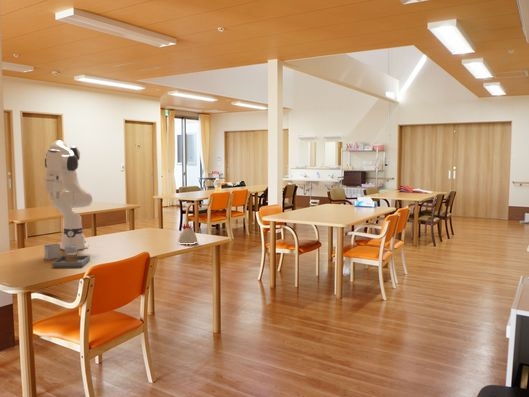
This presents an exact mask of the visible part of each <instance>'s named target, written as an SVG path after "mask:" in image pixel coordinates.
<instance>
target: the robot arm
mask: <svg viewBox="0 0 529 397" xmlns="http://www.w3.org/2000/svg"><path fill="white" fill-rule="evenodd" d="M80 159H81V152H80V150H79V149H78V147H76V146H69V147H68V146H67V144H66V142H64V141H63V140H61V139H58V140H55V141H53V142H52V143H51V144H50V146H49V149H48V150H46V153H45V158H44V167H45V168H46V174H45V176H44V181H45V191H46V193H47V194H49V196H50V201H51V204H52V206H53V207H54V208H56V209H57V210H58V211H59V212H60V213H61V215H62V217H63V235H61V243H60V250H64V251H65V246H72V245H74V246H77V251H79V250H82V249H83V250H84V249H89V244H90V243H89V242H87V241H86V237H85V235H84V233H83V231H84V230H83V229H84V227H83V224H82V223H83V222H82V220H83V219H82V216H81V215H80V214H79V213H76V211H73V209H77V208H79V209H81V208H87V207H90V206H91V205H92V203H93V196H92V194H91V193H90V192H88V191H86V190H85V189H83V187H81V185H80V184H79V179H78V175H77V171H76V170H77V169H78V168H79V160H80ZM63 190H64V191H63Z"/></svg>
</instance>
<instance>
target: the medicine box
mask: <svg viewBox="0 0 529 397" xmlns="http://www.w3.org/2000/svg"><path fill="white" fill-rule="evenodd" d="M43 247H44V259H45V260H47V259H48V260H53V259H55V260H56V259H58V258H60V257H61V249H60V247H61V243H58V242H57V243H49V244H44V246H43Z"/></svg>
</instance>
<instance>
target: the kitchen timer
mask: <svg viewBox="0 0 529 397" xmlns="http://www.w3.org/2000/svg"><path fill="white" fill-rule="evenodd" d="M181 226H182V229H183V230H182V231H181V232H180V233H179V236H178V239H177V243H178V242H180V243H194V242H197V243H198V237H197V235H196V232H195V231H194V230H193V228H194V226H192V224H189V223H183V225H181Z"/></svg>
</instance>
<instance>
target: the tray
mask: <svg viewBox="0 0 529 397" xmlns="http://www.w3.org/2000/svg"><path fill="white" fill-rule="evenodd" d="M90 261H91V257H90V255H77V262H66V256H65V255H60V258H56V259H55V260H54V261H52V265H51V266H52V268H53V269H59V268H60V267H62V269H64V267H65V268H66V267H68V268H71V267H72V268H83V267H84V266H86V264H88V262H90ZM72 268H71V269H72ZM60 269H61V268H60Z"/></svg>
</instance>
